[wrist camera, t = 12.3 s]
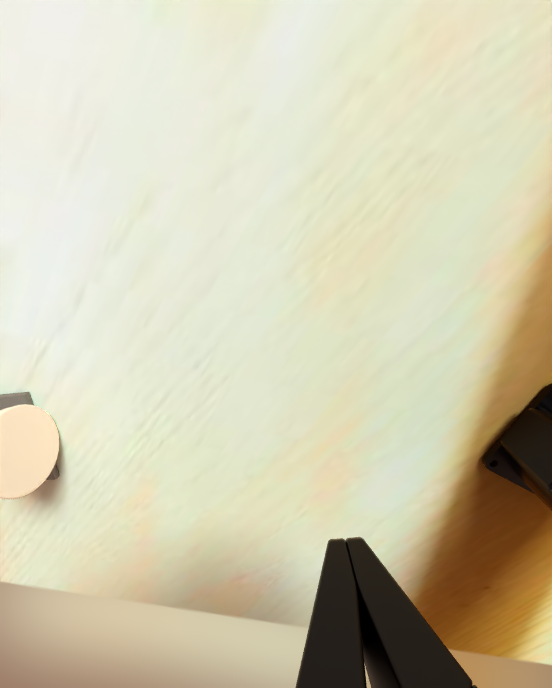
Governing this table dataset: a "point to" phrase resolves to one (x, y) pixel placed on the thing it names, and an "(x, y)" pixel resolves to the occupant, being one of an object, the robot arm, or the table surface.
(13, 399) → the slate mat
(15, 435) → the chess piece
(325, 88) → the table surface
